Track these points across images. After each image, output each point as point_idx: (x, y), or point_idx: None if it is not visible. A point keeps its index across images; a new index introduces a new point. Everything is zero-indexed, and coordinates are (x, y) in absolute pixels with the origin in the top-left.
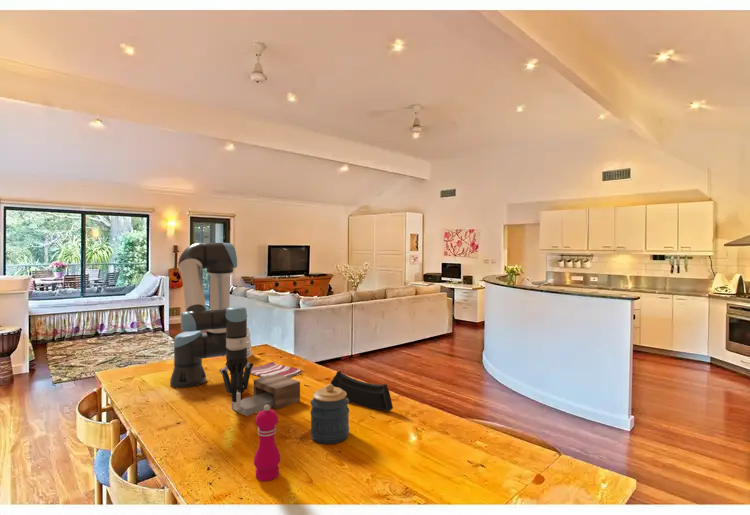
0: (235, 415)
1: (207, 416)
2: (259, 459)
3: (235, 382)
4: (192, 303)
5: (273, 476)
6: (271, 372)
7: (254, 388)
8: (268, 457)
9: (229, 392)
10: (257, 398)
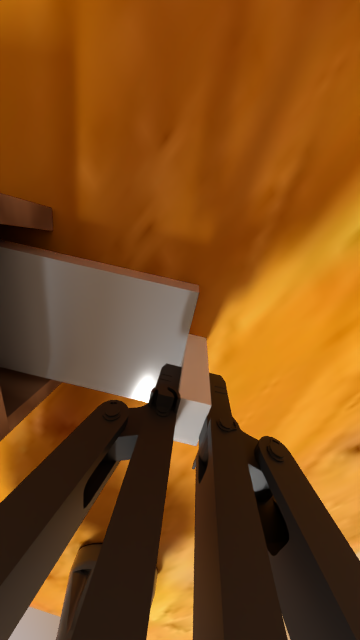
0: (214, 331)
1: (270, 411)
2: None
3: (248, 589)
4: None
5: None
6: None
7: (20, 415)
8: None
9: (289, 456)
10: (64, 344)
